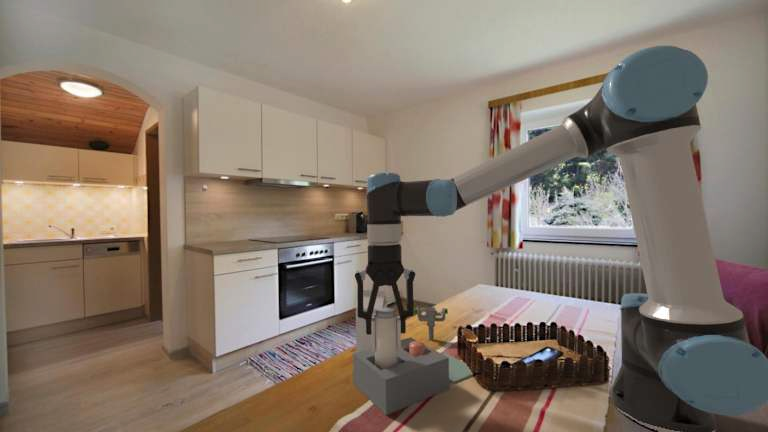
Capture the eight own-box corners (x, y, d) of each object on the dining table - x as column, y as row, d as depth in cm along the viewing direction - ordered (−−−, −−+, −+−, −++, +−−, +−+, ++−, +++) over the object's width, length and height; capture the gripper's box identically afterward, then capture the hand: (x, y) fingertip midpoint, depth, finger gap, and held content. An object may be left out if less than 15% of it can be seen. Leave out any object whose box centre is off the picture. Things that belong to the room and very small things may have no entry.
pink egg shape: (427, 376, 73) (427, 345, 73) (416, 381, 71) (415, 348, 71) (418, 370, 76) (418, 339, 76) (406, 374, 74) (406, 343, 74)
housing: (449, 388, 69) (448, 357, 69) (385, 415, 60) (385, 379, 60) (410, 363, 81) (410, 337, 81) (353, 383, 72) (352, 353, 72)
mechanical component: (448, 341, 95) (448, 309, 95) (415, 341, 96) (414, 309, 96) (446, 337, 98) (446, 306, 98) (414, 337, 98) (414, 306, 98)
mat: (479, 372, 77) (479, 370, 77) (453, 383, 72) (453, 381, 72) (445, 354, 87) (445, 352, 87) (420, 362, 82) (420, 361, 82)
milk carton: (382, 367, 80) (381, 293, 80) (356, 364, 81) (355, 292, 81) (387, 355, 87) (387, 287, 87) (363, 353, 88) (362, 286, 88)
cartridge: (396, 376, 71) (395, 307, 71) (398, 388, 66) (397, 314, 66) (375, 377, 71) (374, 307, 71) (375, 389, 66) (374, 314, 66)
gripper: (421, 241, 73) (423, 339, 73) (345, 242, 72) (346, 342, 72) (427, 244, 65) (429, 354, 65) (342, 245, 64) (344, 357, 64)
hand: (386, 347), depth 69 cm, fingers closed on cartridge, 5 cm apart
